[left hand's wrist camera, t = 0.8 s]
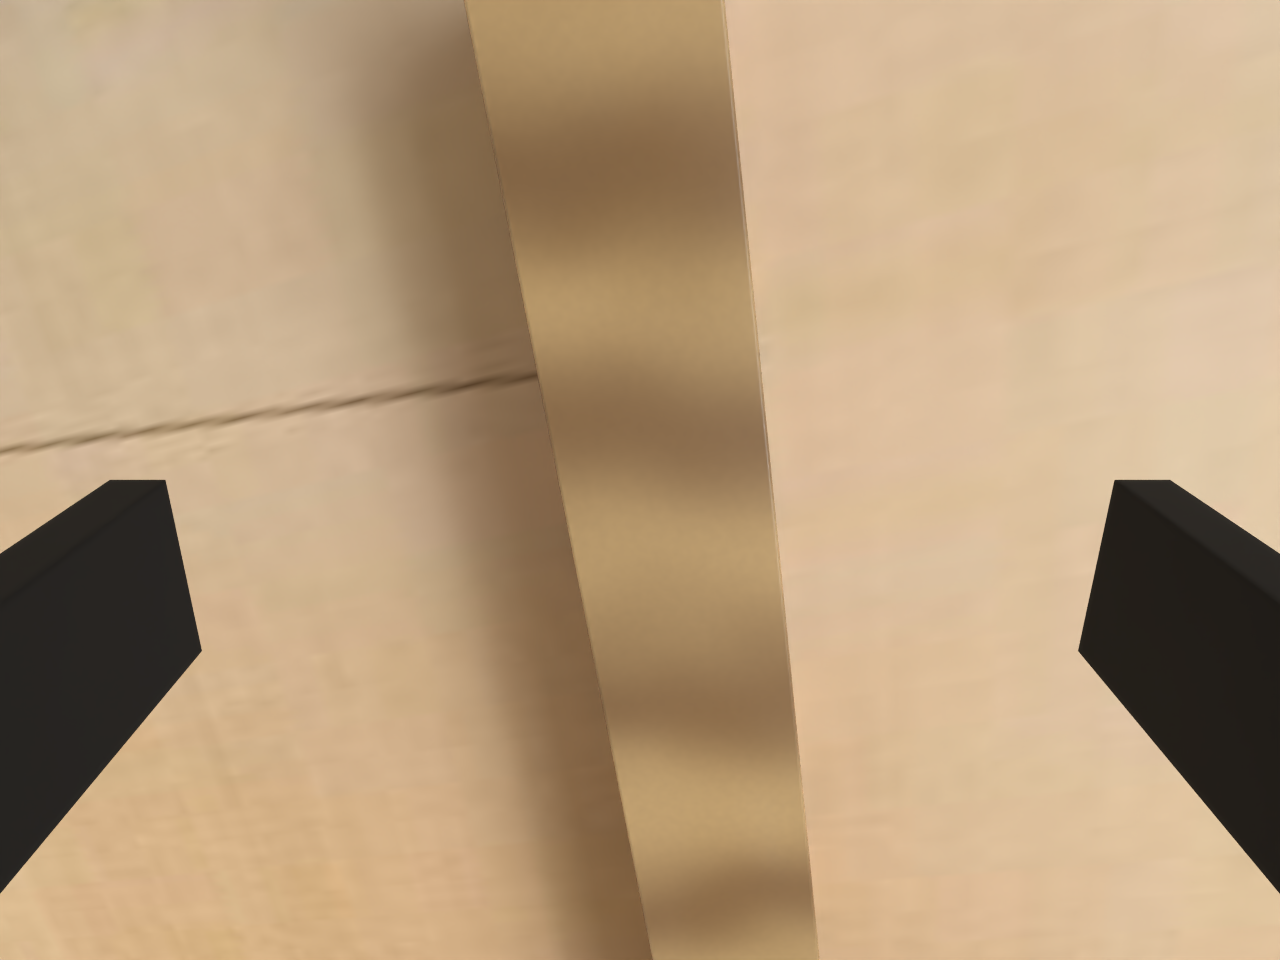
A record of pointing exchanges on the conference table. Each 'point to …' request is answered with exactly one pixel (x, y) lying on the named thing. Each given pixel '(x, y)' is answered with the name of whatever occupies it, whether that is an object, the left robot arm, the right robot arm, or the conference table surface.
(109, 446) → the conference table surface
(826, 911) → the conference table surface
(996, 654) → the conference table surface
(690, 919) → the post
